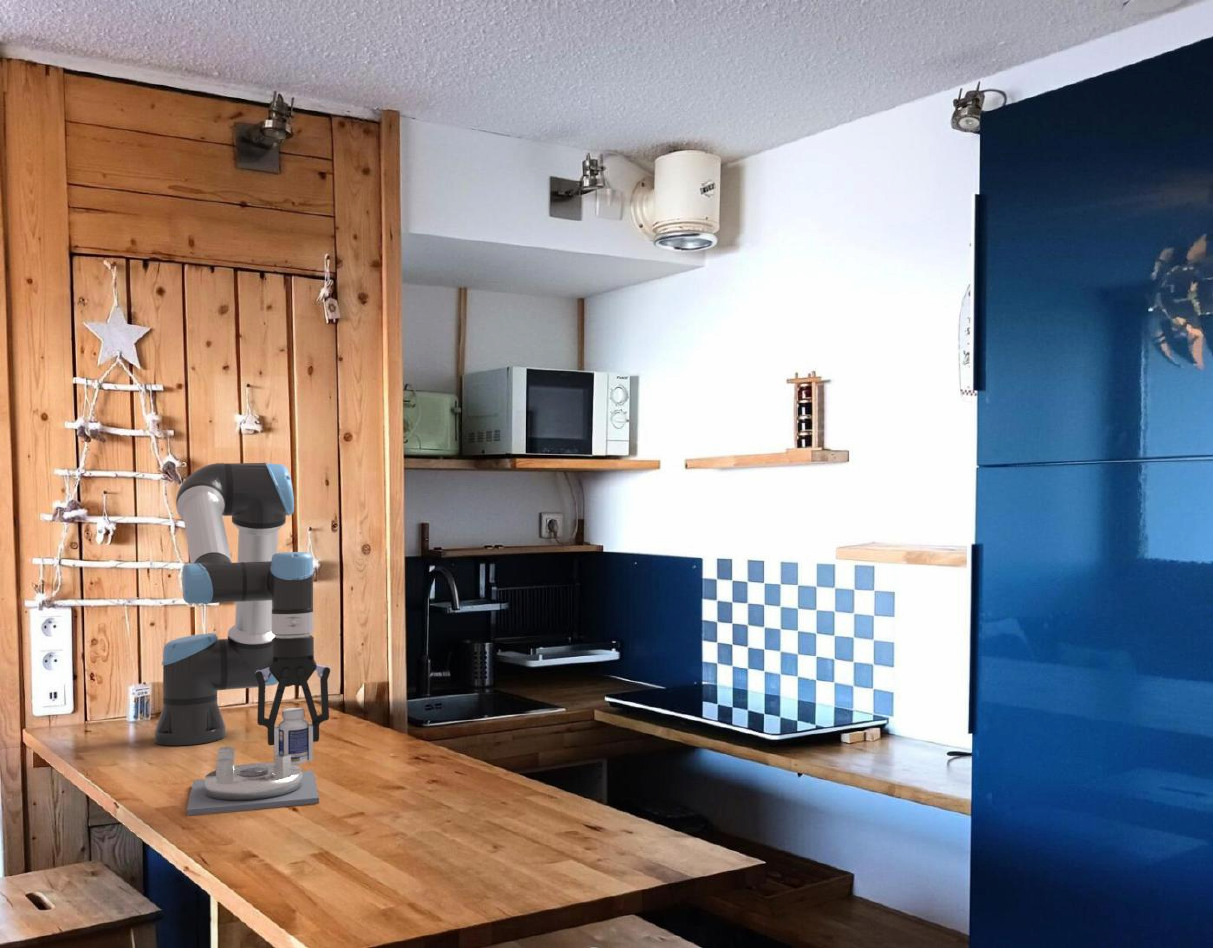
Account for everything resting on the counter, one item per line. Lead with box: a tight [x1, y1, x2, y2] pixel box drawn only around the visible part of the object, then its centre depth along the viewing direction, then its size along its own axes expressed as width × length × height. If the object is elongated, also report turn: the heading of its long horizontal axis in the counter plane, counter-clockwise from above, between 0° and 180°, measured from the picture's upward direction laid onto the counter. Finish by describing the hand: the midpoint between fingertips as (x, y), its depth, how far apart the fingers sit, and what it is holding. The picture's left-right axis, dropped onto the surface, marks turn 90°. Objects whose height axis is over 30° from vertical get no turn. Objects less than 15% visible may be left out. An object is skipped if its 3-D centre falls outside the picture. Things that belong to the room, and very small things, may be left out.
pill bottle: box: [278, 707, 309, 766], centre depth 204 cm, size 5×5×10 cm
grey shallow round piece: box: [204, 746, 303, 800], centre depth 202 cm, size 17×17×6 cm
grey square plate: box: [186, 770, 320, 817], centre depth 202 cm, size 21×22×1 cm
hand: (293, 760), depth 204 cm, fingers closed on pill bottle, 5 cm apart
